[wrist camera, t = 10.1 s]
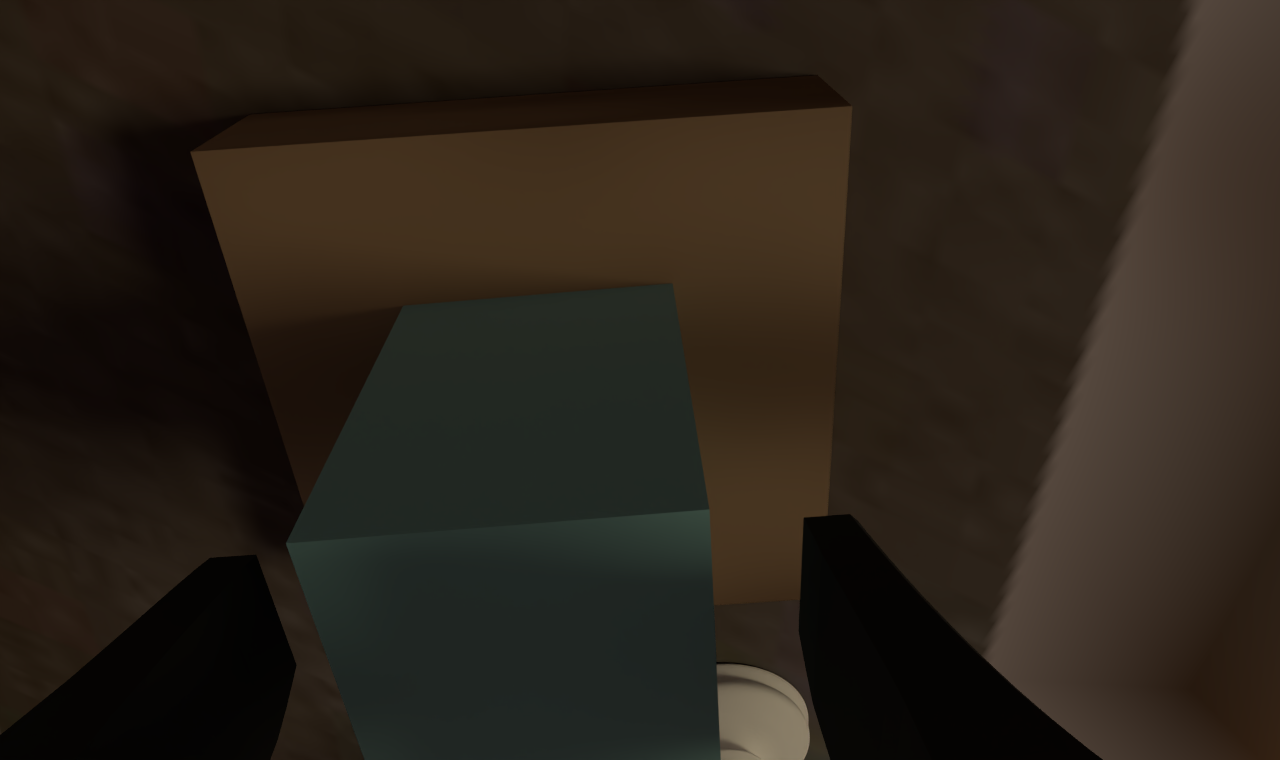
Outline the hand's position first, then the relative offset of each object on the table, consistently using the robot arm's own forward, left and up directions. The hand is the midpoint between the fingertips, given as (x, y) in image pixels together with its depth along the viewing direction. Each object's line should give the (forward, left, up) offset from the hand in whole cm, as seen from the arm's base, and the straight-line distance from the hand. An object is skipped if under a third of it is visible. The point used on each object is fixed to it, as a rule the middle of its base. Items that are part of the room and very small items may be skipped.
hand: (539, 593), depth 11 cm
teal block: (0, 0, -5) cm, 5 cm away
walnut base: (0, 0, -7) cm, 7 cm away
